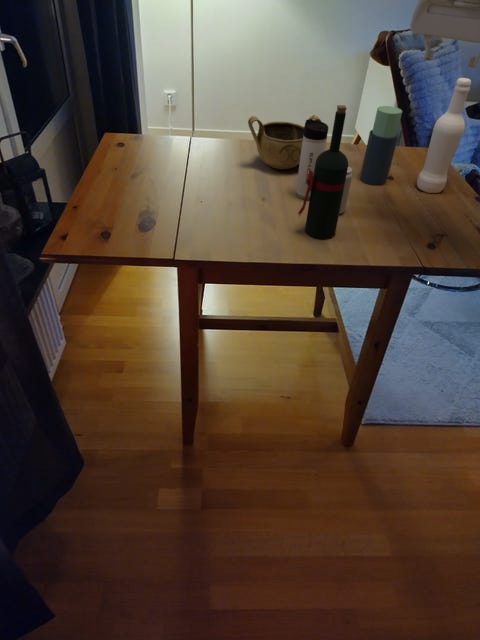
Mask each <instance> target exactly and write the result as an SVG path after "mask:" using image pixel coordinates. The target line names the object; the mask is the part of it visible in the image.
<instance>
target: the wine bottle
mask: <svg viewBox="0 0 480 640" xmlns="http://www.w3.org/2000/svg"><path fill="white" fill-rule="evenodd" d="M347 108H348V107H347V106H346V105H344V104H337V105H336V111H335V115H334V120H333V126H332V132H331V139H330V145H329V148H328V149H325V151H324V152H322V153H321V154H320V155H319V156H318V157H317V159H316V163H315V169H314V175H313V172H312V171H311V170H309V177H307V185H308V188H307V192H306V196H305V199H303V204H302V205H301V208H300V209H299V211H298V212H297V215H298V217H300V216H301V215H302V213H303V212H304V211H305V208H306V205H307V201H308V208H307V214H306V221H305V226H304V233H305V234H306V236H308V237H310V238H312V239H316V240H321V241H325V240H331V239H333V238H334V237H335V236H336V232H337V226H338V221H339V217H340V214H339V211H340V206H341V201H342V196H343V191H344V186H345V180H346V175H347V170H348V166H349V160H348V157H347V155H346V154H345V153H344V152H343V151H341V150H340V149H341V144H342V143H341V142H342V138H343V133H344V132H343V131H344V127H345V120H346V116H347V112H346V111H347ZM309 191H311V194H310V200H307V198H308V195H309Z"/></svg>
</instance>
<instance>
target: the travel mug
mask: <svg viewBox="0 0 480 640" xmlns="http://www.w3.org/2000/svg"><path fill="white" fill-rule="evenodd" d="M304 126H305V128H304V135H303V141H302V149H301V157H300V164H299V165H298V166H299V167H298V172H297V173H298V174H297V179H296V181H297V182H296V189H295V196H296V197H297V198H299V199H301V200H304V199H305V196H306V192H307V188H308V185H307V177H309V170H311V171H312V172H313V175H314V169H315V163H316V159H317V157H318V156H319V155H320V154H321V153H322V152H324V151H326V149H327V148H326V147H327V139H328V133H329V125H328V124H326V123H325V122H323V121H322V120H321V121H317V120H312V119H309V118H308V119H306V120H305V122H304ZM310 194H311V191H309V195H308V198H307V201H310Z"/></svg>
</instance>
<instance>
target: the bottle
mask: <svg viewBox="0 0 480 640" xmlns="http://www.w3.org/2000/svg"><path fill="white" fill-rule="evenodd" d="M471 85H472V80H471V79H470V78H466V77H459V78H458V79H457V80H456V85H455V86H454V91H453V93H452V96H451V99H450V103H449V105H448V108H447V111H446V112H445V113H443V114H442V115H440V117H439V118H438V119H437V120H436V122H435V124H434V126H433V129H432V132H431V137H430V140H429V145H428V149H427V153H426V158H425V162H424V165H423V167H422V169H421V170H420V172H419V173H418V175H417V178H416V179H417V180H416V187H417V188H418V189H419V190H420V191H422V192H424V193H428V194H439V193H441V192H442V191H443V190H444V189H445V187H446V184H447V181H448V172H449V170H450V167H451V164H452V161H453V159H454V157H455V155H456V152H457V149H458V147H459V145H460V143H461V140H462V138H463V135H464V133H465V129H466V126H465V125H466V123H465V119H464V117H463V111H464V109H465V108H464V107H465V105H466V101H467V98H468V95H469V92H471Z"/></svg>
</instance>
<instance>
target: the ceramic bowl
mask: <svg viewBox="0 0 480 640" xmlns="http://www.w3.org/2000/svg"><path fill="white" fill-rule="evenodd" d="M308 119H312V120H316V121H321V122H322V120H321V118H320V117H319V116H318V115H316V114H312V115H311V116H309V118H308ZM255 122H257V124H258V130H257V133H256V130H255V128H254V126H253V124H254V123H255ZM247 125H248V128H249V130H250V133H251V136H252V137H253V139H254V141H255V143H256V144H255V145H256V149H257V152H258V156H259V157H260V159H261V160H262V162H263V163H265V164H266V165H268V167H271V168H273V169H276V170H290V169H292V168H295V167H297V166H299V165H300V157H301V149H302V141H303V135H304V128H305V125H304V126H303V125H301V124H298V123H295V122H290V121H268V122H265V123H263V122H262V121H261V120H260V119H259V118H258V117H257V116H255V115H252V116H250V117H249V118H248V121H247Z"/></svg>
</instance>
